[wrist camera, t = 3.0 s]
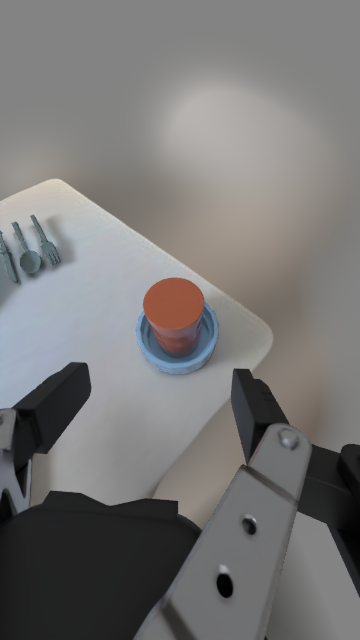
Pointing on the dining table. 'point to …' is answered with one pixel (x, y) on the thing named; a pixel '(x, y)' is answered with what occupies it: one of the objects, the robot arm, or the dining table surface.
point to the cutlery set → (28, 252)
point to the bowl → (187, 363)
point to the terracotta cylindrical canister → (175, 315)
